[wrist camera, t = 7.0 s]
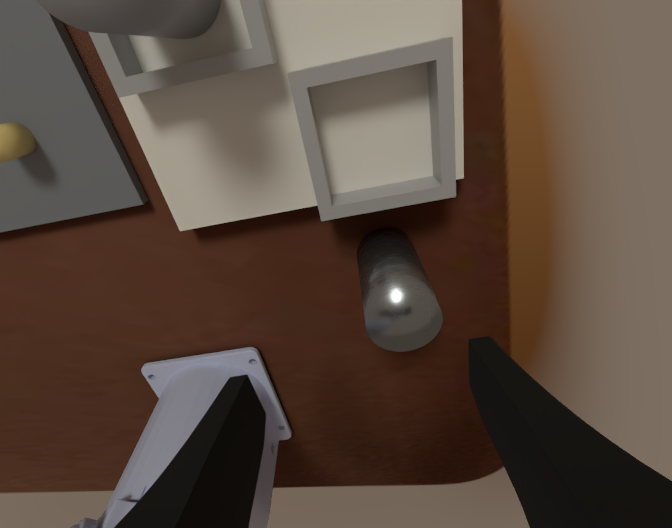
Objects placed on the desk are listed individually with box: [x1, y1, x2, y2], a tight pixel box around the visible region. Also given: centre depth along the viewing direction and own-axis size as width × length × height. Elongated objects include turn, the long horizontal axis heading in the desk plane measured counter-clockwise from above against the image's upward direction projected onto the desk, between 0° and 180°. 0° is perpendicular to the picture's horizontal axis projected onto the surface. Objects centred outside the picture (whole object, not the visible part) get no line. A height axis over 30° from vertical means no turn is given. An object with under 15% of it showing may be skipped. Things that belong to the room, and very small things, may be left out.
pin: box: [357, 228, 443, 352], centre depth 18 cm, size 3×3×6 cm
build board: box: [36, 0, 464, 231], centre depth 12 cm, size 12×14×7 cm
